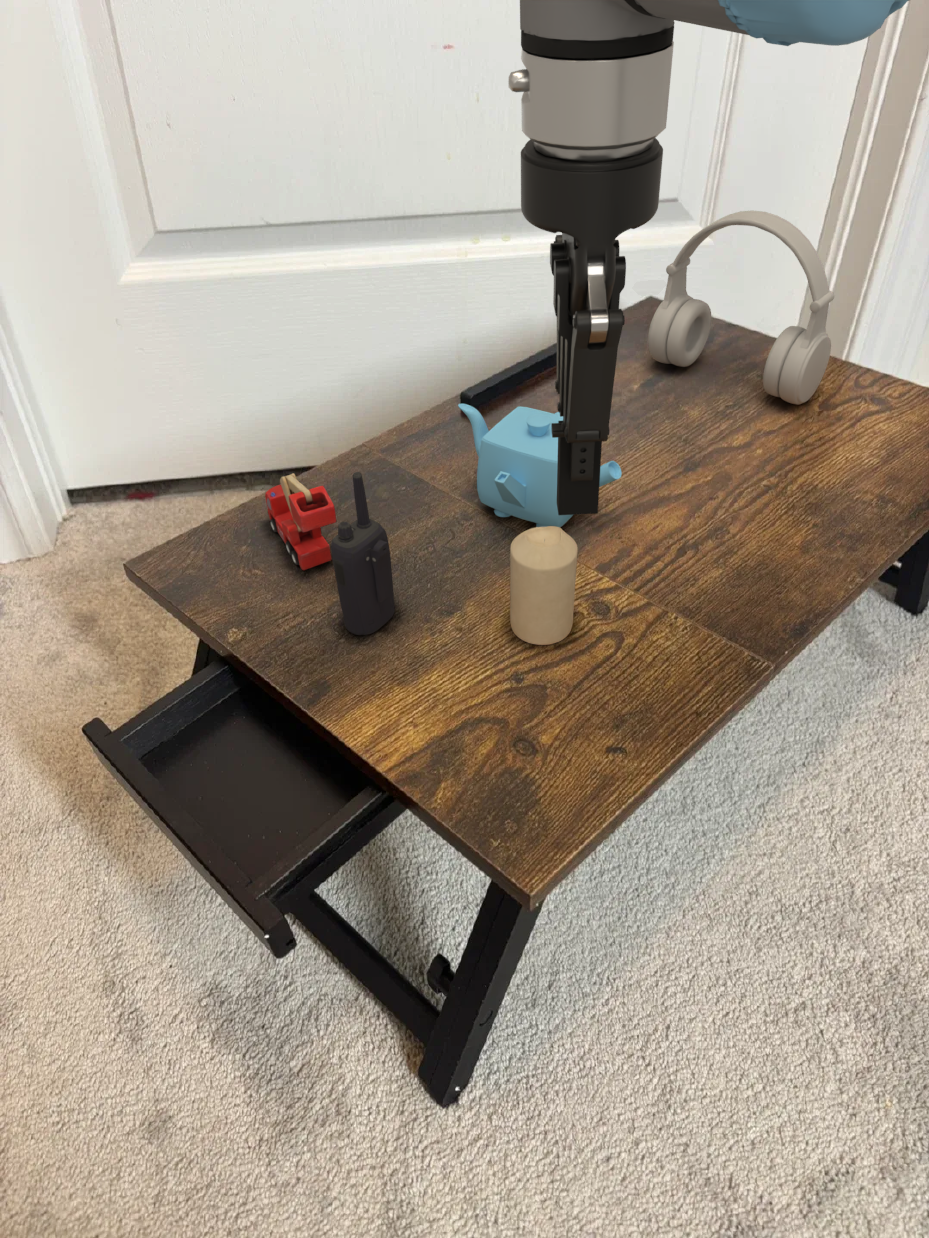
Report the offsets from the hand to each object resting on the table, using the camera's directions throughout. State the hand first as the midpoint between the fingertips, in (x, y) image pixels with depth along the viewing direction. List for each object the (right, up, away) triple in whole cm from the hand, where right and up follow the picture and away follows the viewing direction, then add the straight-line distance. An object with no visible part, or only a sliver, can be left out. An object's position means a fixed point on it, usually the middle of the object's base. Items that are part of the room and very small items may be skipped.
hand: (577, 507), depth 65 cm
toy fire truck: (-23, -1, +27) cm, 36 cm away
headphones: (+25, +21, +49) cm, 59 cm away
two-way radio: (-16, -8, +19) cm, 26 cm away
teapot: (-1, +3, +30) cm, 31 cm away
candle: (-1, -8, +18) cm, 20 cm away
